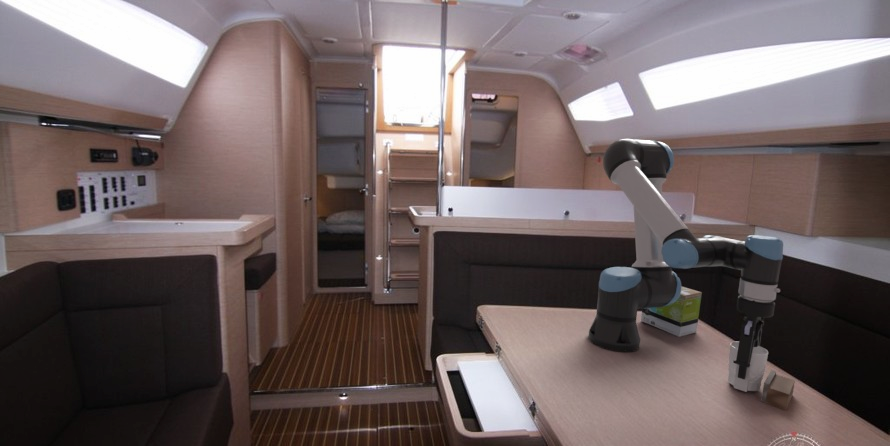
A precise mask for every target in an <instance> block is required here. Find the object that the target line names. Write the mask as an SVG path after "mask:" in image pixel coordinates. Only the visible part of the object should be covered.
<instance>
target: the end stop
mask: <svg viewBox="0 0 890 446" xmlns="http://www.w3.org/2000/svg"><path fill="white" fill-rule="evenodd" d="M795 382H796V380H795V379H792V378H789V377H786V376H783V375H779V374H777V371H776V370H772V369H771V370H770V372H769V373H768V375H767V376H766V378H765V381H763V386H762V393H761V400H760V401H761V402H762V403H764V404H767V405H770V406H773V407H775V408H779V409H782V410H783V411H788V407H789V405H790V402H791V399H792V397H793V394H794V388H795Z"/></svg>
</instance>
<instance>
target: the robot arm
mask: <svg viewBox="0 0 890 446" xmlns="http://www.w3.org/2000/svg"><path fill="white" fill-rule="evenodd" d="M674 157H675V156H674V154H673V151H672V150H671V148H670V147H669V145H668V144H666V143H664V142H662V141H657V140H654V139H650V140H649V139H648V140H647V139H646V140H645V139H634V138H633V139H632V138H621V139H618V140H616V141H613V142H612V143H611V144H610V145H609V146H608V147H607V148H606V150H605V151H604V154H603V157H602V166H603V169H604V172H605V174H606V176H607V177H608V179H609V180H610V181H611V183H612V184H613V185H617V186H618V188H619V187H620V189H621V191H622V192H623V194H625V196H626V197H627V199H628V200H629V201H630V203H631V204H632V205H633V217H634V218H633V219H634V220H633V221H634V238H635V241H634V242H635V254H636V255H635V256H636V260H635V262H634V263H632V265H631V267H630V266H629V267H627V266H613V267H609V268H608V267H607V268H605V269H604V270H602V271H601V272H600V276H599V281H598V292H597V302H596V303H597V304H596V315H595V316H594V319H593V322H592V324H591V326H590V328H589V330H588V335H587V337H588V340H589V342H591V343H592V344H593V345H595V346H597V347H599V348H601V349H604V350H605V349H606V350H608V351H611V352H612V351H613V352H618V353H619V352H620V353H621V352H622V353H632V352H635V351H638V350H639V349H640V346H641V337H640V333H639V330H638V328H639V327H638V325H637V324H638V323H637V316H638V310H642V309H644V308H653V307H658V308H661V307H664V306H668V305H671V304H673V303H674V302H675V301H676V300H677V299H678V298H679V296H680V294H681V286H682V281H681V279H680V277H678V274H677V273H676V272H674V271H673V269H683V270H686V269H691V268H705V267H706V268H709V267H724V268H725V267H727V268H730V269H734V270H738V271H741V272H740V278H739V284H738V285H739V286H738V296H737V300H736V302H737V303H736V310H737V311H738V312H739V313H742V314H744V315H746V316H744V318H742V321H741V325H740V336H739V346H738V352H737V358H736V361H733V363H735V364H737V367H736V374H735V381H734V385H733V388H734V389H736V390H740V391H742V392H746V393H747V392H748V390H747V389H748V382H749V375H750V368H751V366H750V362H751V357H752V352H753V347H758V346H760V347H761V341H762V333H763V327H764V325H765V321H764V320H765V319H767V318H772V317H773V316H774V315H775V313H774V312H775V307H776V302H774V301H776V299H777V293H780V292H781V288H778V284H779V277H780V272H781V267H782V262H783V259H784V256H783V253H784V241H783V240H782V239H780V238H779V237H774V236H766V235H758V234H750V235H747V236H746V239H745V240H738V239H734V238H733V239H732V238H728V237H724V236H721V235H712V234H711V235H710V234H708V235H704V236H702V237H696V236H695V234H693V232H692V231H691V230H690V229H689V227H688V226H687V225H686V224H685V223H684V221H683V220H682V219H681V217H679V215H678V214H677V212H675V210H674V209H673V208H672V206H670V204H669V203H668V201H666V200H667V199H665V198H664V196H663V184H664V183H665V182H666V181H667V175H668V174H669V173H670V172H671V171H672V168H673V167H674V163H675V158H674Z"/></svg>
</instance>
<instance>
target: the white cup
mask: <svg viewBox="0 0 890 446" xmlns="http://www.w3.org/2000/svg"><path fill="white" fill-rule="evenodd" d="M738 346H739V341H731V342H730V343H729V352H728V378H727V381H728V383H729V384H731V386H734V381H735V374H736V367H737V364H735V363H733V361H736V358H737V352H738ZM768 355H769V351H768V349H766V348H764V347H763V346H761V345H760V346H758V347H753V352H752V357H751V362H750V366H751V368H750V375H749V382H748V389H747V392H758V391H760V389H761V386H762V380H763V379H764V378H763V377H764V375H765V370H766V366H767V360H768V357H769V356H768Z"/></svg>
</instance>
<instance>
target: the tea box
mask: <svg viewBox="0 0 890 446" xmlns="http://www.w3.org/2000/svg"><path fill="white" fill-rule="evenodd" d="M702 294H703V292H702V291H698V290H695V289H692V288H688V287H686V286H682V285H681V294H680V296H679V298H678V299H677V300H676V301H675V302H674V303H673V304H671V305H668V306H664V307H661V308H658V307H653V308H644V309H641V315H640V317H641V318H640V322H642V323H645V324H647V325H650V326H653V327H655V328H658V329H660V330H661V331H663V332H667V333H669V334H671V335H672V336H673V335H674V336H676V337H678V338H680V337H684V336H687V335H688V336H689V335H690V334H694V333H695V334H696V333H697V329H698V324H699V315H700V309H701V308H700V307H701V301H702Z"/></svg>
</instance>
